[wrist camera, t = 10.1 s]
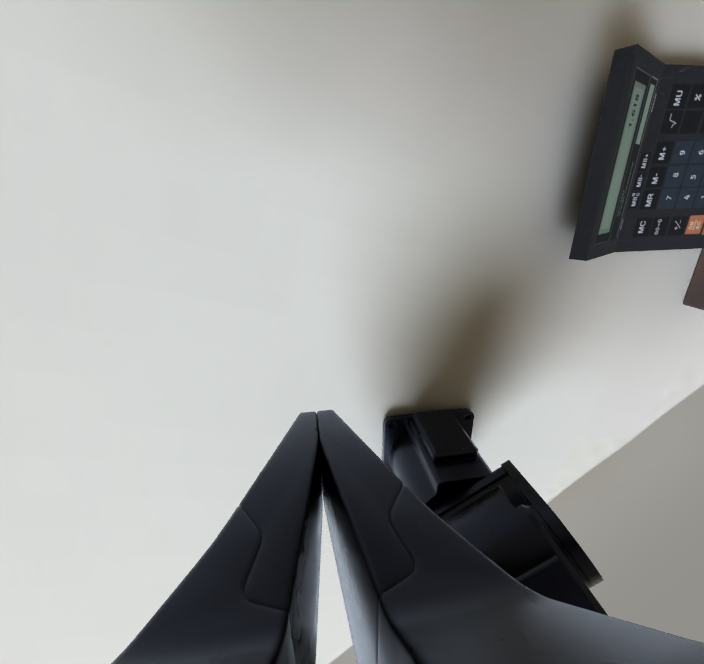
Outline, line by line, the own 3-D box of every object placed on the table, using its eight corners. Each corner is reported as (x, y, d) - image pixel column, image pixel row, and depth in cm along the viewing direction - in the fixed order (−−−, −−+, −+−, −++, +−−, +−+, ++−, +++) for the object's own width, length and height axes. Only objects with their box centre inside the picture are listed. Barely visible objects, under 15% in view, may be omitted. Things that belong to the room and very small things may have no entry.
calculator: (703, 245, 23) (760, 252, 20) (542, 252, 21) (579, 261, 18) (765, 74, 19) (844, 53, 16) (577, 67, 18) (629, 43, 15)
